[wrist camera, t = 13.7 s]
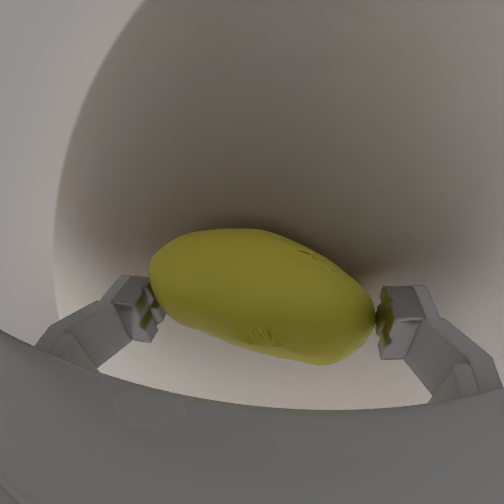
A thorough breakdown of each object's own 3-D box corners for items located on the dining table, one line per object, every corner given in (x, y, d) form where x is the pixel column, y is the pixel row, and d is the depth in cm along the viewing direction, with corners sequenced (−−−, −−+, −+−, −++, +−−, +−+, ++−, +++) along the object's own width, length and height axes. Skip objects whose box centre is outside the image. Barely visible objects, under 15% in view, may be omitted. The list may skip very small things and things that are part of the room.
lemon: (338, 330, 12) (340, 406, 9) (166, 267, 12) (122, 333, 9) (390, 258, 10) (417, 337, 6) (183, 177, 9) (122, 230, 6)
